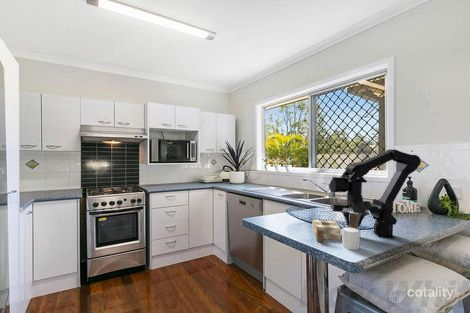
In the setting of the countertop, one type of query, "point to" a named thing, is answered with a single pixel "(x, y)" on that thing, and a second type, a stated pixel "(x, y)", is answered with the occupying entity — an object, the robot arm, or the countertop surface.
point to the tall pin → (353, 220)
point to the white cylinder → (351, 238)
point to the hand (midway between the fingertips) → (353, 226)
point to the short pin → (319, 235)
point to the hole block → (327, 228)
